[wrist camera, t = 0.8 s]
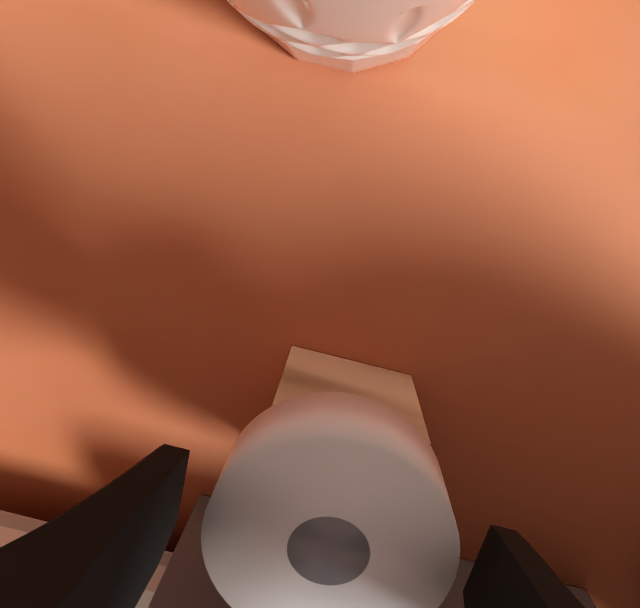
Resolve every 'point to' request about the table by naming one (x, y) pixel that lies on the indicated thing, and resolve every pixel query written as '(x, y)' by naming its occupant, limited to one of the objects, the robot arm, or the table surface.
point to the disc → (331, 510)
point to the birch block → (349, 382)
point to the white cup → (350, 28)
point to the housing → (207, 604)
